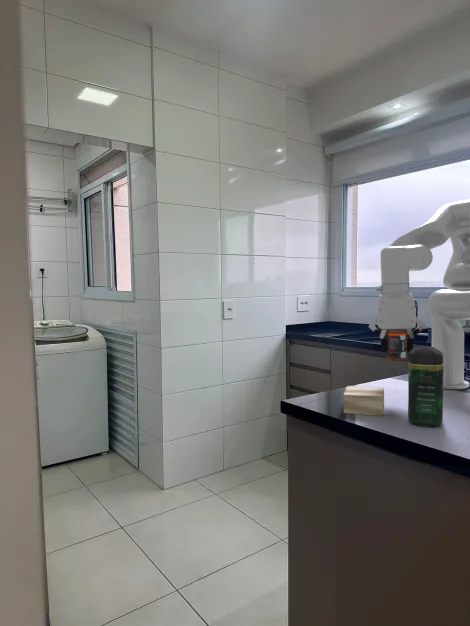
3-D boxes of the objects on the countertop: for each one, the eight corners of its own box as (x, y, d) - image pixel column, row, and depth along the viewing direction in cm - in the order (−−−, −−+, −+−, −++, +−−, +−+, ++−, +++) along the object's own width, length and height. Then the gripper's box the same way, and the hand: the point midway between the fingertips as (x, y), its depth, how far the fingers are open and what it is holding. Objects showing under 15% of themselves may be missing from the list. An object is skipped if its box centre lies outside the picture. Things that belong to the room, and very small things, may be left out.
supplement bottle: (410, 361, 119) (409, 322, 118) (388, 362, 120) (387, 323, 119) (406, 357, 125) (405, 319, 124) (385, 357, 126) (384, 320, 125)
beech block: (347, 402, 122) (347, 385, 121) (384, 405, 118) (384, 387, 118) (343, 412, 112) (343, 394, 112) (383, 416, 109) (383, 397, 108)
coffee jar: (444, 429, 98) (444, 350, 96) (407, 425, 101) (407, 349, 100) (442, 417, 107) (442, 344, 105) (409, 414, 110) (408, 343, 109)
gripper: (363, 291, 120) (365, 353, 122) (429, 289, 114) (430, 354, 115) (365, 290, 127) (367, 349, 129) (427, 287, 121) (428, 349, 122)
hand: (397, 350), depth 122 cm, fingers closed on supplement bottle, 6 cm apart
